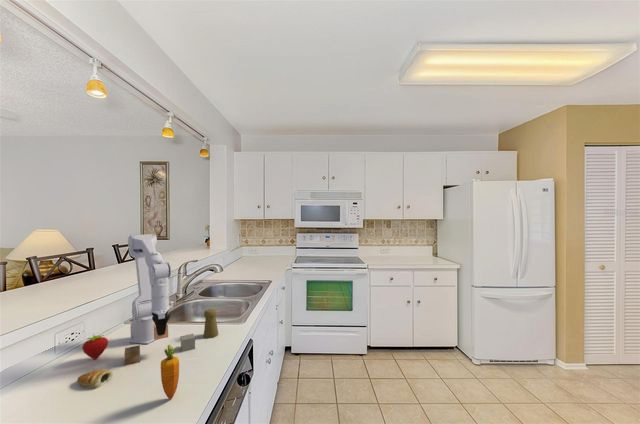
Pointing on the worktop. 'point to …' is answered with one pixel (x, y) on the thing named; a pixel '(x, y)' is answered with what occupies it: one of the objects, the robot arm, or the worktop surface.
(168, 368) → the carrot
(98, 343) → the strawberry
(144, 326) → the robot arm
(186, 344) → the gray cube
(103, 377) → the pastry
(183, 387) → the worktop surface
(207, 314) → the pepper mill
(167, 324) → the terracotta cube
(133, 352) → the walnut cube
